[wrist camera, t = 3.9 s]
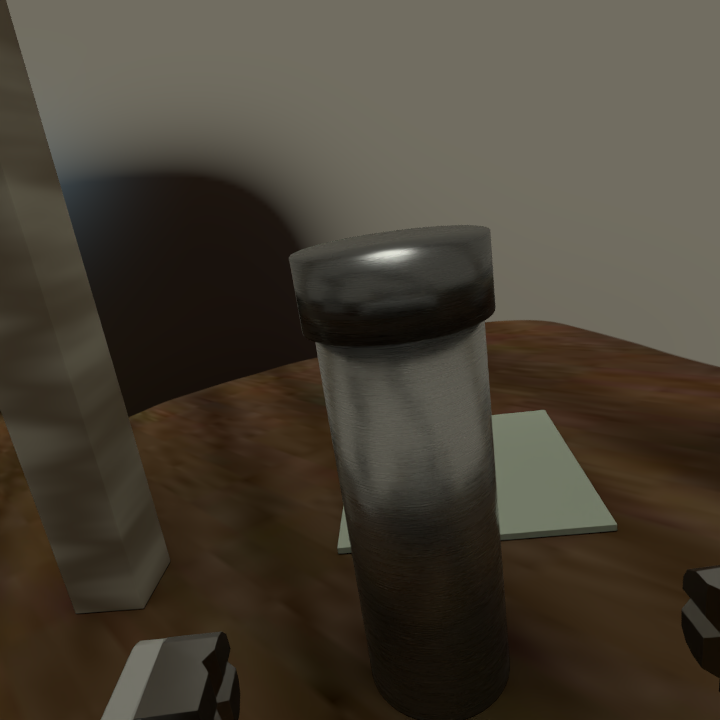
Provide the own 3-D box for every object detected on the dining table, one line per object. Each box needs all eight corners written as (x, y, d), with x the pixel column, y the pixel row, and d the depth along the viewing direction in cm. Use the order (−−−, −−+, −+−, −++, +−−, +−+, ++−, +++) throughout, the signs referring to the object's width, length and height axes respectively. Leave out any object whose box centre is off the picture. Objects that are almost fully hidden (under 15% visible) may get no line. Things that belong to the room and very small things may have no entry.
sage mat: (338, 553, 25) (337, 548, 25) (355, 433, 36) (354, 429, 36) (617, 530, 24) (617, 524, 24) (544, 414, 35) (544, 409, 35)
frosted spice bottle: (358, 736, 17) (270, 272, 12) (366, 608, 22) (304, 242, 17) (536, 727, 16) (508, 240, 12) (503, 597, 21) (474, 219, 17)
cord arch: (75, 613, 24) (-401, -678, 13) (109, 566, 27) (-256, -523, 15) (1015, 541, 20) (1505, -1322, 9) (939, 495, 23) (1243, -970, 12)
